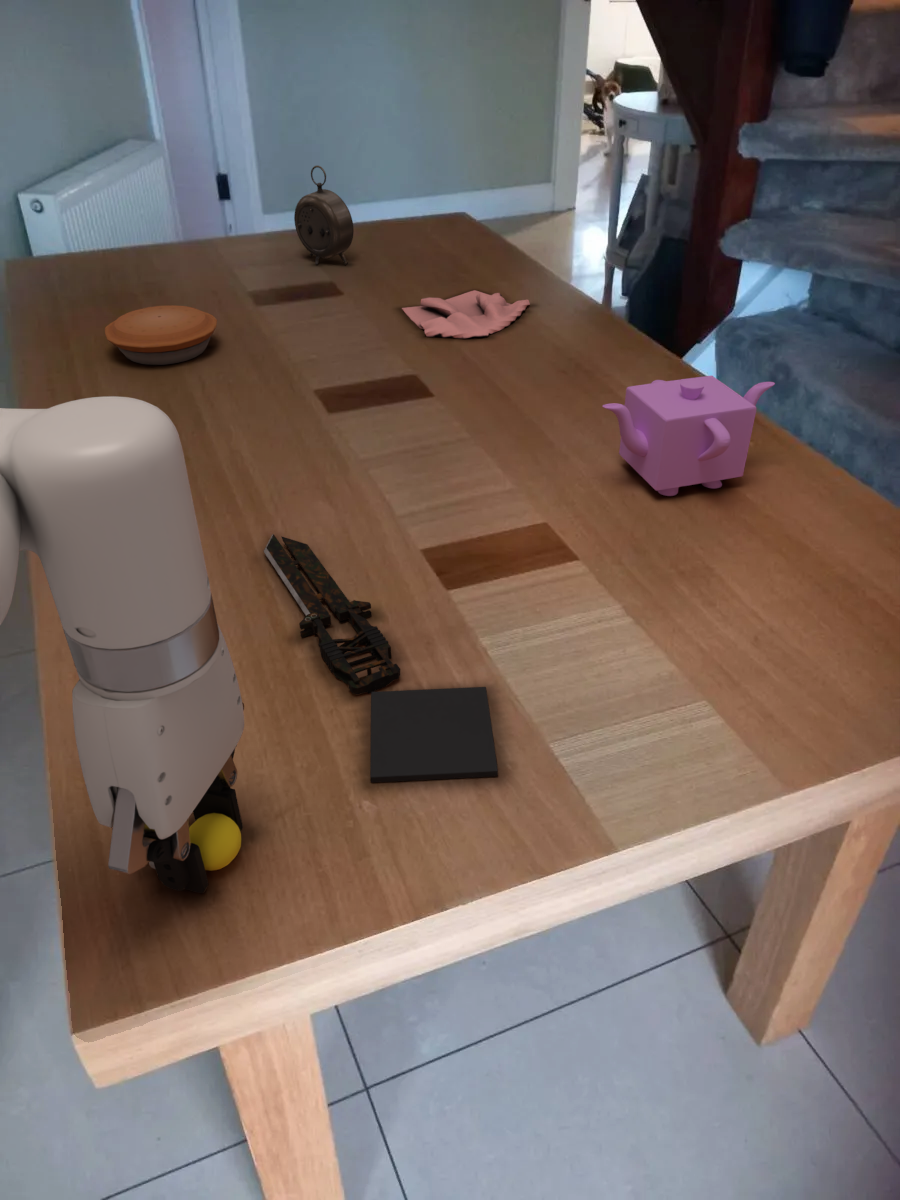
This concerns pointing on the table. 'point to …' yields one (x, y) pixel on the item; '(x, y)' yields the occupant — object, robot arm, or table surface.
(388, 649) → the knife
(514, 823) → the table surface
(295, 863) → the table surface
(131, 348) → the pie
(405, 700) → the coaster
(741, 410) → the teapot
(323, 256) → the alarm clock
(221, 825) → the light bulb
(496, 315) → the cloth
